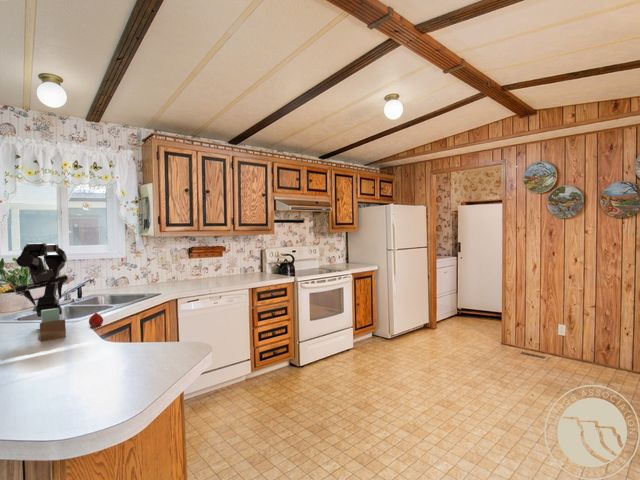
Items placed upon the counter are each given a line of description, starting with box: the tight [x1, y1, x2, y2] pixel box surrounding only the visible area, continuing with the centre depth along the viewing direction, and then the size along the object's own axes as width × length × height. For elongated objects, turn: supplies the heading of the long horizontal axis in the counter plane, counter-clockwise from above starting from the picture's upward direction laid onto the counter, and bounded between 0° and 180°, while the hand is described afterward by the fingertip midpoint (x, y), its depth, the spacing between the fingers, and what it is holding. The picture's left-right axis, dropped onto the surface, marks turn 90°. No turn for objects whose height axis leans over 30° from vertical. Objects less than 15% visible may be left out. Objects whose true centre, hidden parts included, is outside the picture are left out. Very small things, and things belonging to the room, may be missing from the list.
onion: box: [88, 311, 104, 328], centre depth 167 cm, size 6×6×8 cm
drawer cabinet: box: [37, 318, 67, 343], centre depth 152 cm, size 14×9×9 cm, turn 46°
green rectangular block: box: [40, 308, 61, 323], centre depth 151 cm, size 3×6×12 cm, turn 136°
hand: (48, 302), depth 154 cm, fingers open, 9 cm apart
